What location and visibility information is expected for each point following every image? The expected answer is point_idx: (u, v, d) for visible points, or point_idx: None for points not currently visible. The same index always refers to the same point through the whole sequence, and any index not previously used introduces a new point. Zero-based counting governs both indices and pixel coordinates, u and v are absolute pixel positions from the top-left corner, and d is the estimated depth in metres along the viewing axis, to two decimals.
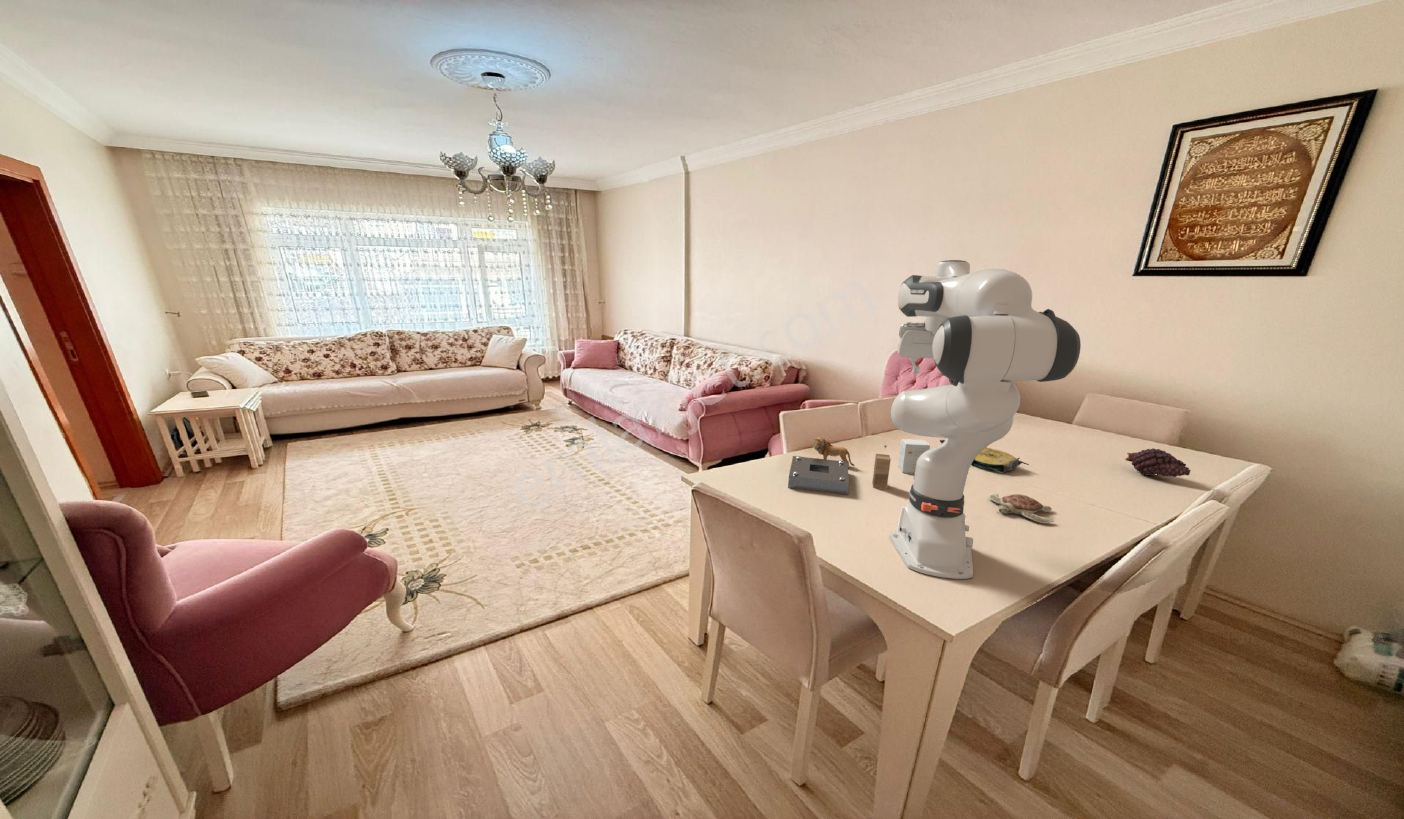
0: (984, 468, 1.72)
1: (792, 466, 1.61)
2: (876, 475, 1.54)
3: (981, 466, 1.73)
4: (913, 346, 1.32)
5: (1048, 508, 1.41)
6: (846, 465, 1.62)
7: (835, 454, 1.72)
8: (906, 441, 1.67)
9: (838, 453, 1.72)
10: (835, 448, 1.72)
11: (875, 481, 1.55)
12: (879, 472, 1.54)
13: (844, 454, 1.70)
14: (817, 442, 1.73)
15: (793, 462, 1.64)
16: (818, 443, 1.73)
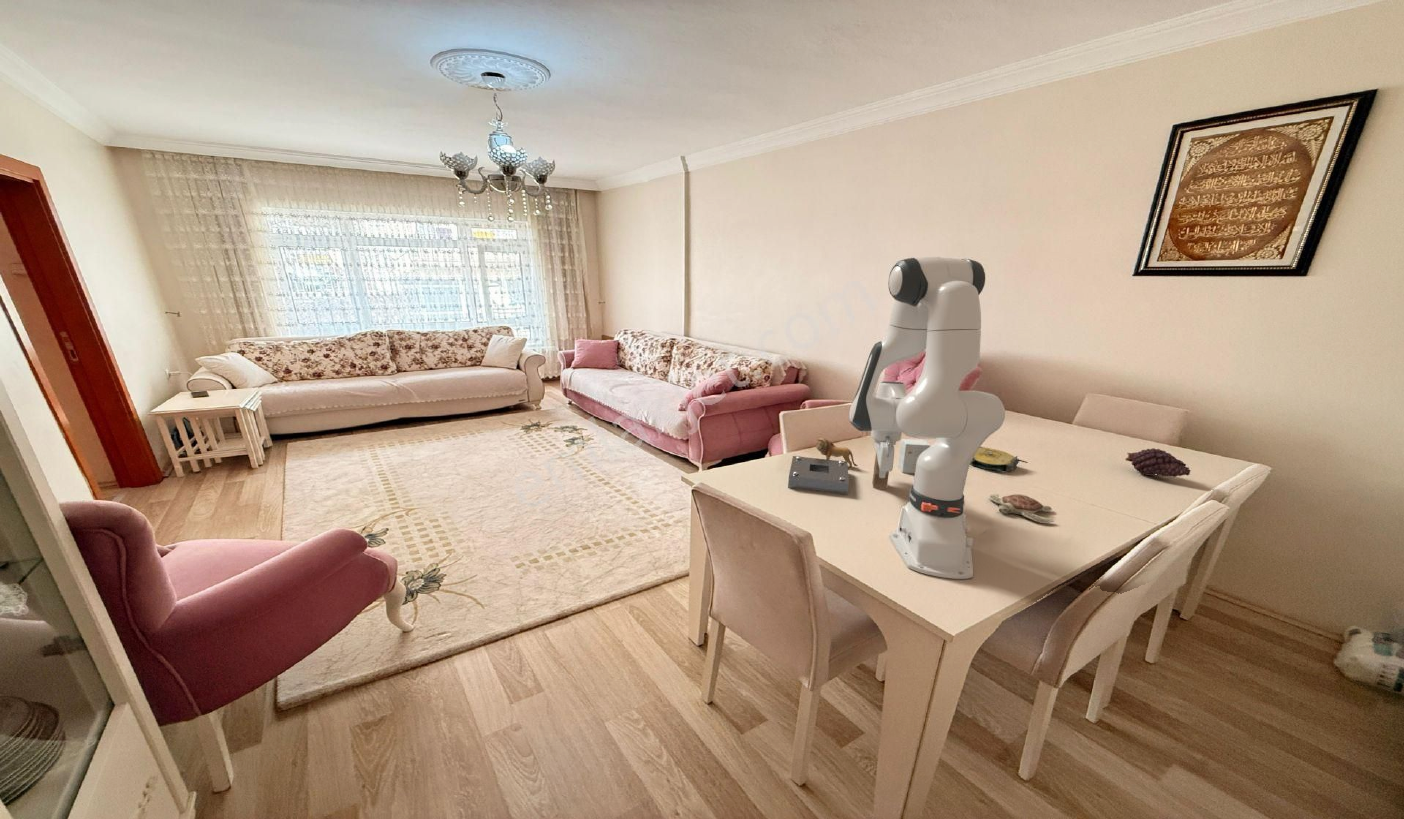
0: (987, 469, 1.71)
1: (792, 466, 1.61)
2: (876, 475, 1.54)
3: (983, 467, 1.72)
4: None
5: (1048, 508, 1.41)
6: (846, 465, 1.62)
7: (838, 455, 1.72)
8: (906, 441, 1.67)
9: (841, 454, 1.71)
10: (838, 449, 1.72)
11: (875, 481, 1.55)
12: None
13: (847, 455, 1.70)
14: (820, 443, 1.73)
15: (793, 462, 1.64)
16: (821, 444, 1.72)
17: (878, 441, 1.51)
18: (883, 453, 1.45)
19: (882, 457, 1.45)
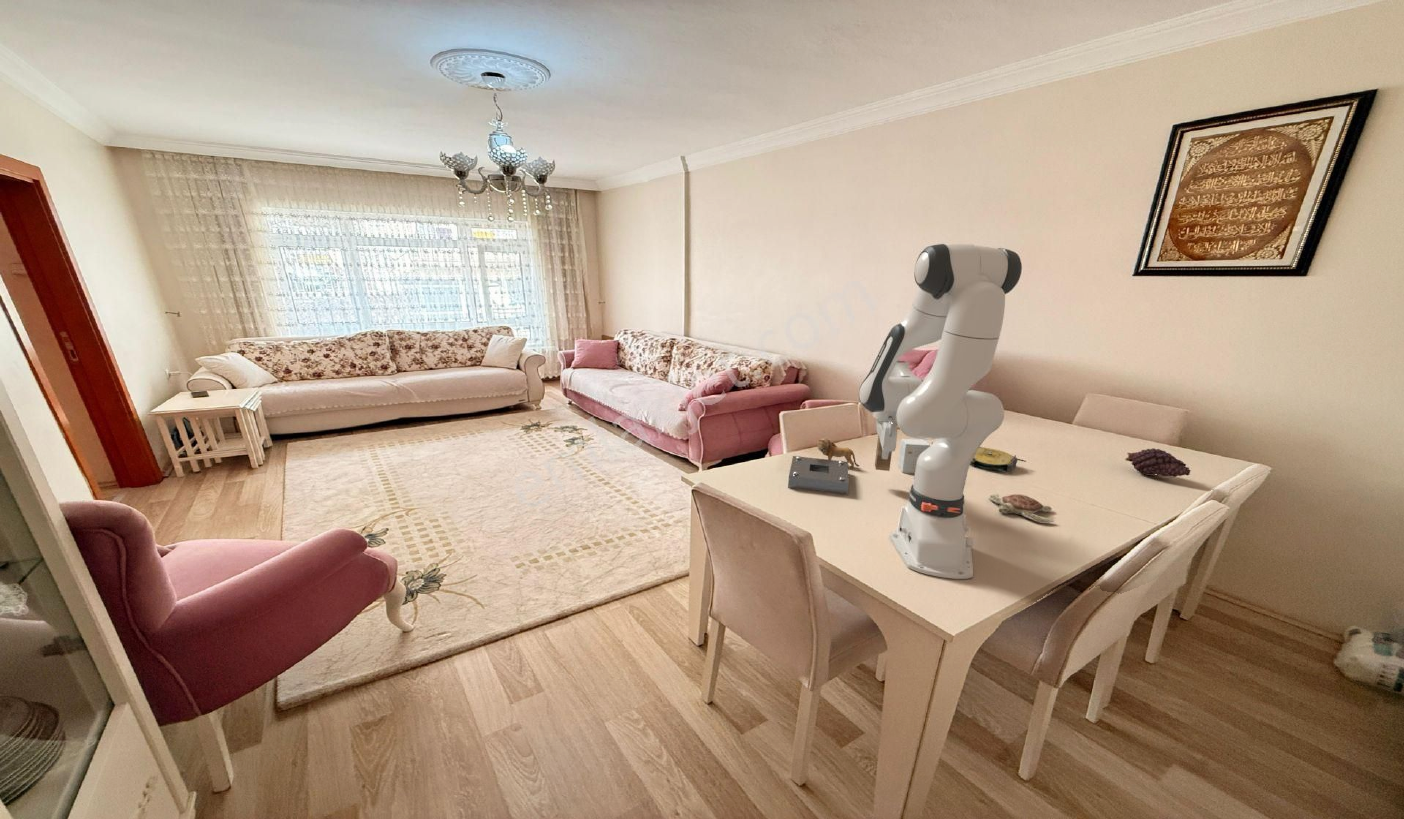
0: (988, 469, 1.71)
1: (792, 466, 1.61)
2: (879, 456, 1.52)
3: (985, 467, 1.72)
4: None
5: (1048, 508, 1.41)
6: (846, 465, 1.62)
7: (840, 455, 1.72)
8: (906, 441, 1.67)
9: (843, 454, 1.71)
10: (840, 449, 1.72)
11: (878, 463, 1.53)
12: (881, 454, 1.52)
13: (849, 455, 1.70)
14: (822, 443, 1.72)
15: (793, 462, 1.64)
16: (823, 444, 1.72)
17: (880, 421, 1.49)
18: (886, 433, 1.43)
19: (885, 437, 1.43)
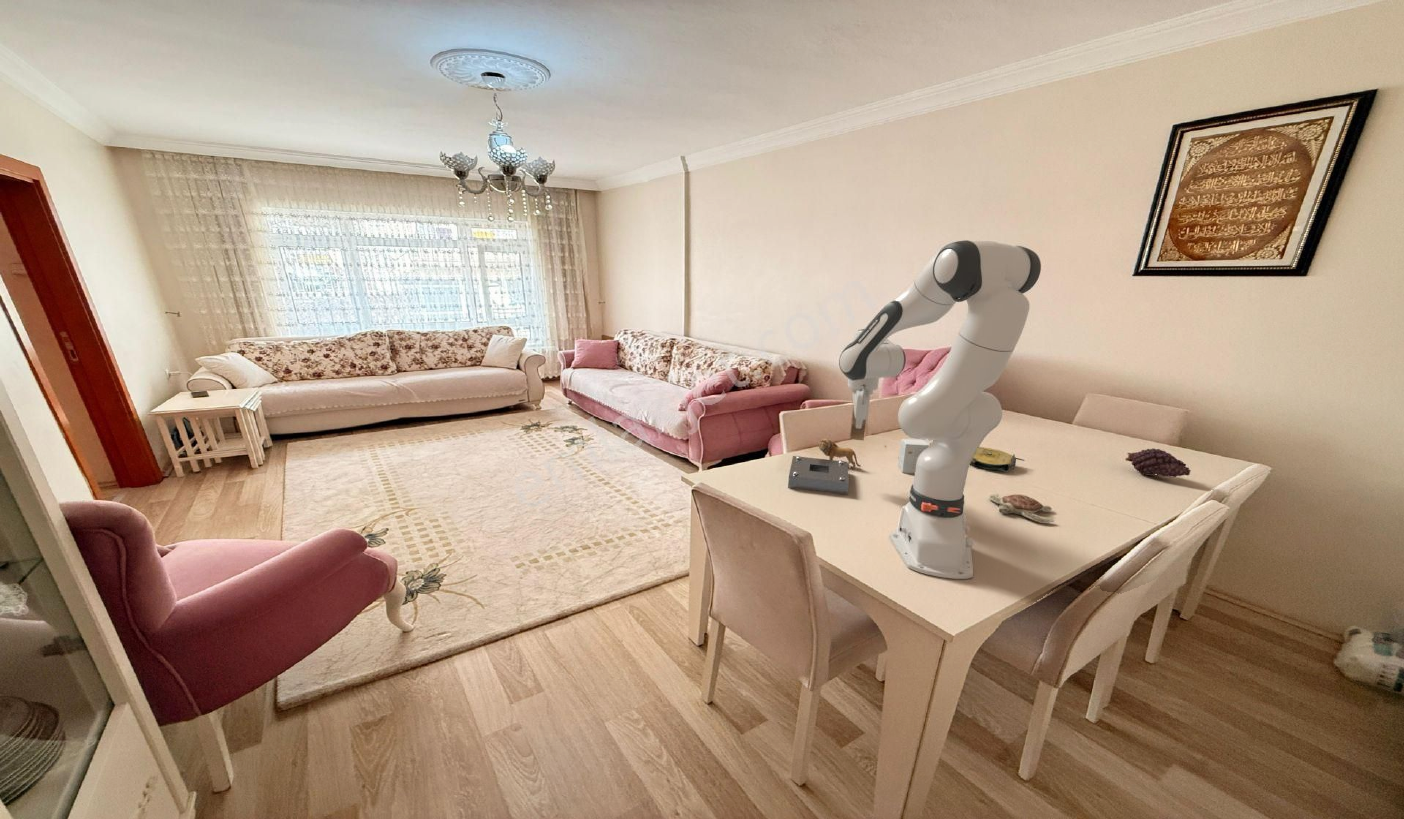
0: (989, 469, 1.71)
1: (792, 466, 1.61)
2: (853, 426, 1.52)
3: (986, 467, 1.71)
4: None
5: (1048, 508, 1.41)
6: (846, 465, 1.62)
7: (842, 455, 1.71)
8: (906, 441, 1.67)
9: (844, 454, 1.71)
10: (841, 449, 1.71)
11: (852, 432, 1.53)
12: (855, 423, 1.52)
13: (851, 455, 1.69)
14: (823, 443, 1.72)
15: (793, 462, 1.64)
16: (824, 444, 1.72)
17: (854, 390, 1.49)
18: (858, 400, 1.42)
19: (857, 404, 1.42)
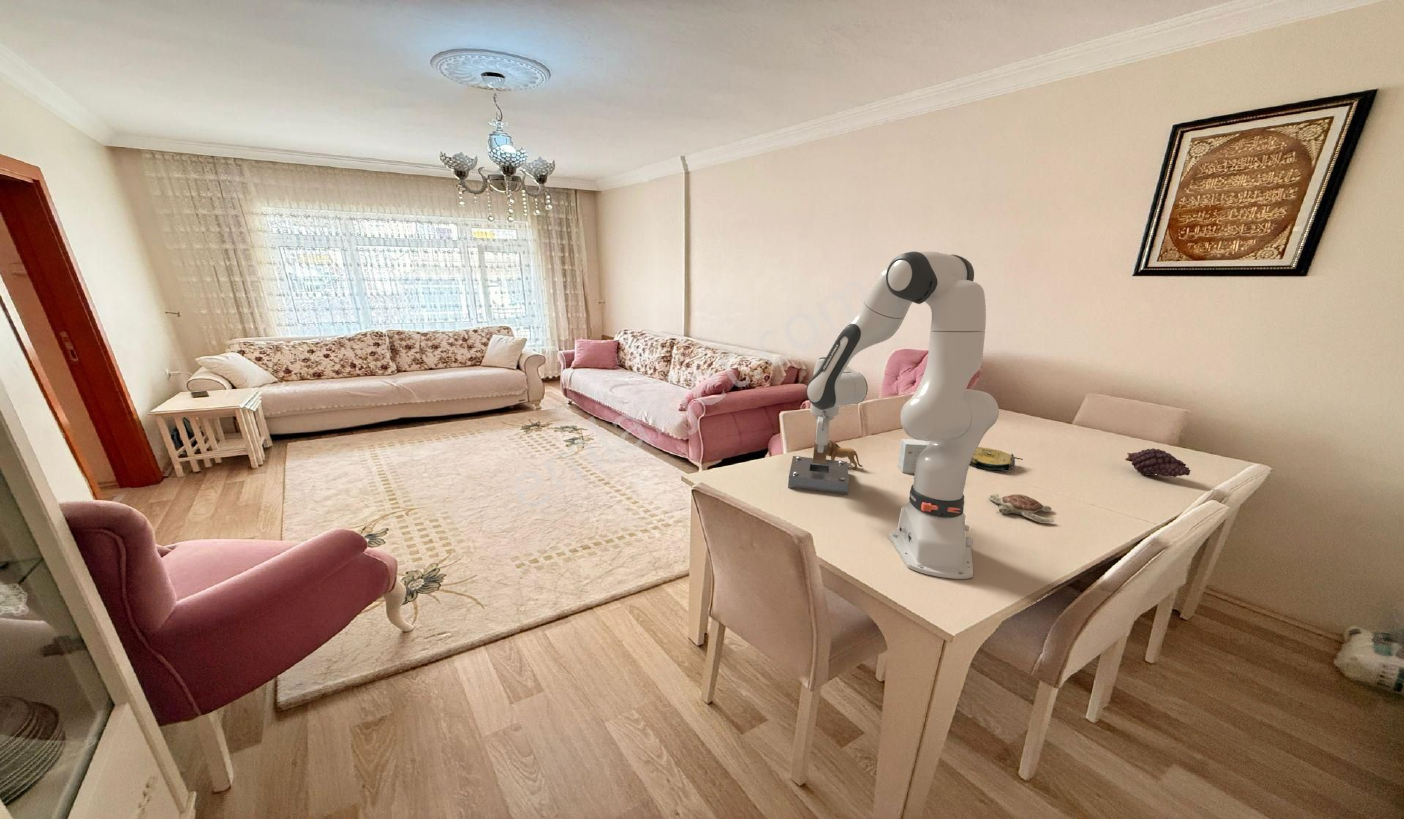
0: (991, 469, 1.71)
1: (792, 466, 1.61)
2: (815, 450, 1.56)
3: (987, 468, 1.71)
4: None
5: (1048, 508, 1.41)
6: (846, 465, 1.62)
7: (843, 456, 1.71)
8: (906, 441, 1.67)
9: (846, 454, 1.71)
10: (843, 449, 1.71)
11: (814, 456, 1.57)
12: (817, 447, 1.56)
13: (852, 455, 1.69)
14: None
15: (793, 462, 1.64)
16: None
17: (816, 416, 1.53)
18: (818, 427, 1.46)
19: (817, 431, 1.47)
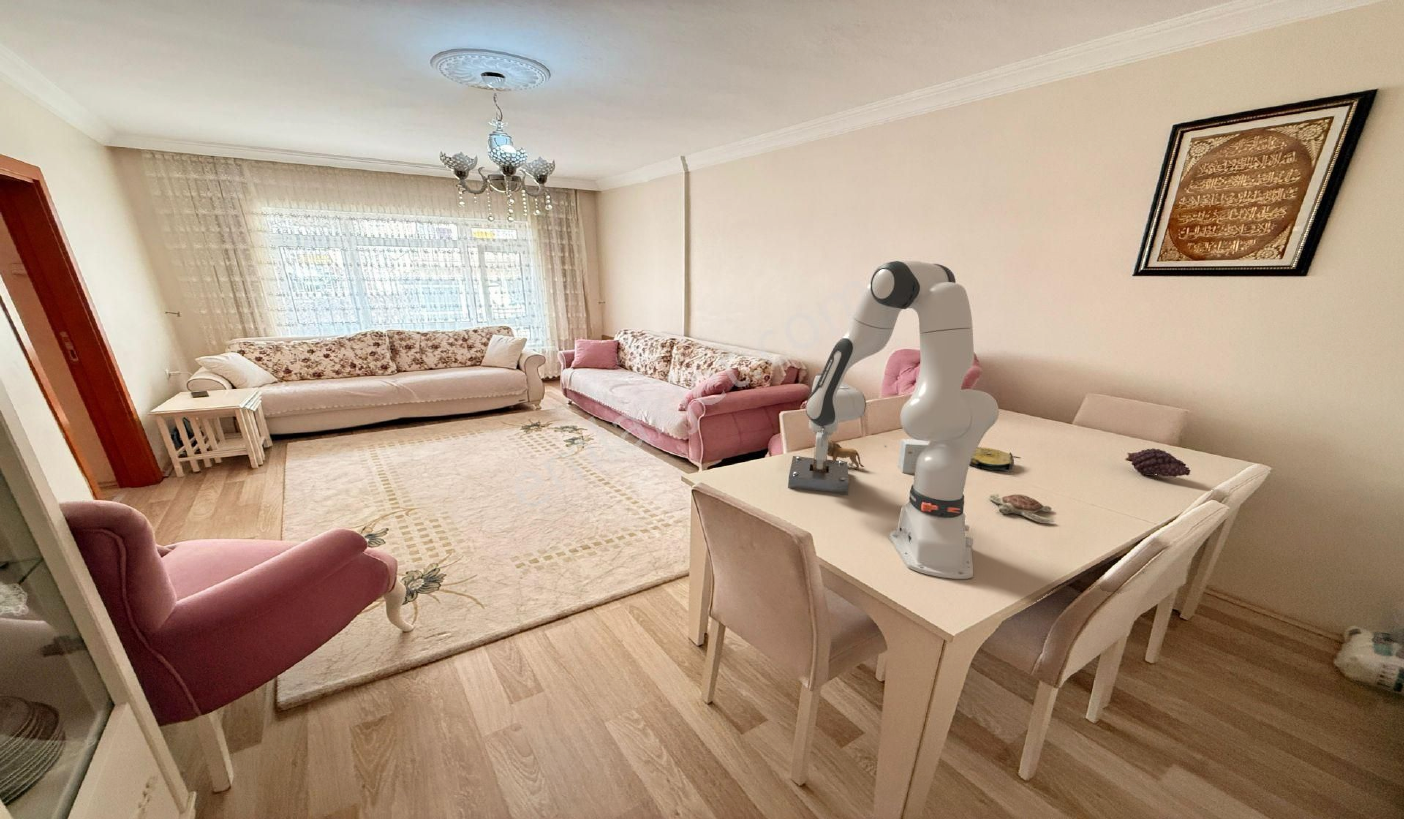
0: (992, 469, 1.71)
1: (792, 466, 1.61)
2: (814, 469, 1.58)
3: (989, 468, 1.71)
4: None
5: (1048, 508, 1.41)
6: (846, 465, 1.62)
7: (845, 456, 1.71)
8: (906, 441, 1.67)
9: (848, 455, 1.70)
10: (844, 450, 1.71)
11: None
12: (816, 466, 1.57)
13: (854, 456, 1.69)
14: None
15: (793, 462, 1.64)
16: None
17: (815, 431, 1.54)
18: (817, 443, 1.48)
19: (816, 447, 1.48)
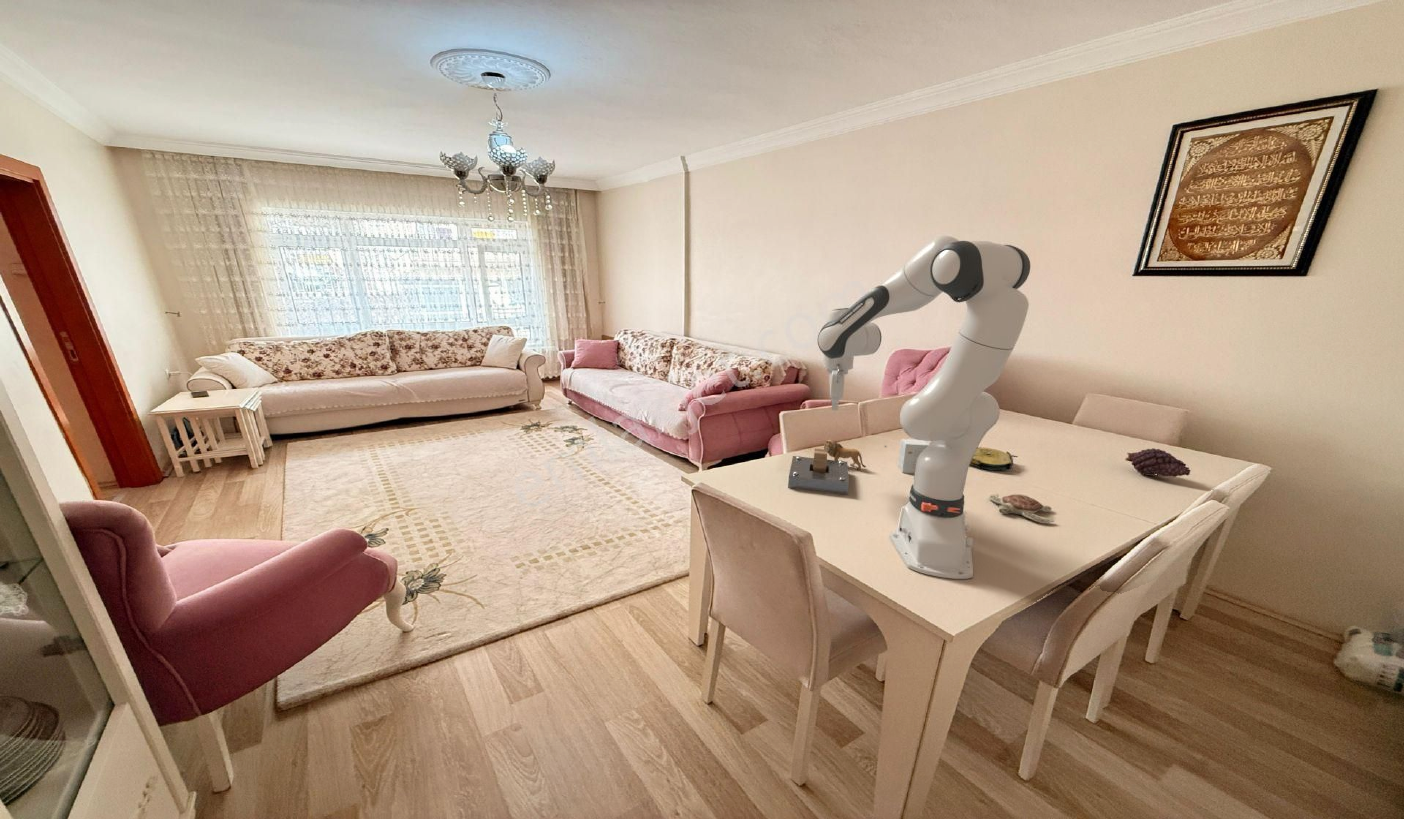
0: (994, 469, 1.71)
1: (792, 466, 1.61)
2: (814, 469, 1.58)
3: (990, 468, 1.71)
4: None
5: (1048, 508, 1.41)
6: (846, 465, 1.62)
7: (847, 456, 1.71)
8: (906, 441, 1.67)
9: (850, 455, 1.70)
10: (846, 450, 1.71)
11: None
12: (816, 467, 1.57)
13: (856, 456, 1.69)
14: (828, 444, 1.71)
15: (793, 462, 1.64)
16: (829, 445, 1.71)
17: (830, 371, 1.49)
18: (833, 379, 1.43)
19: (832, 383, 1.43)
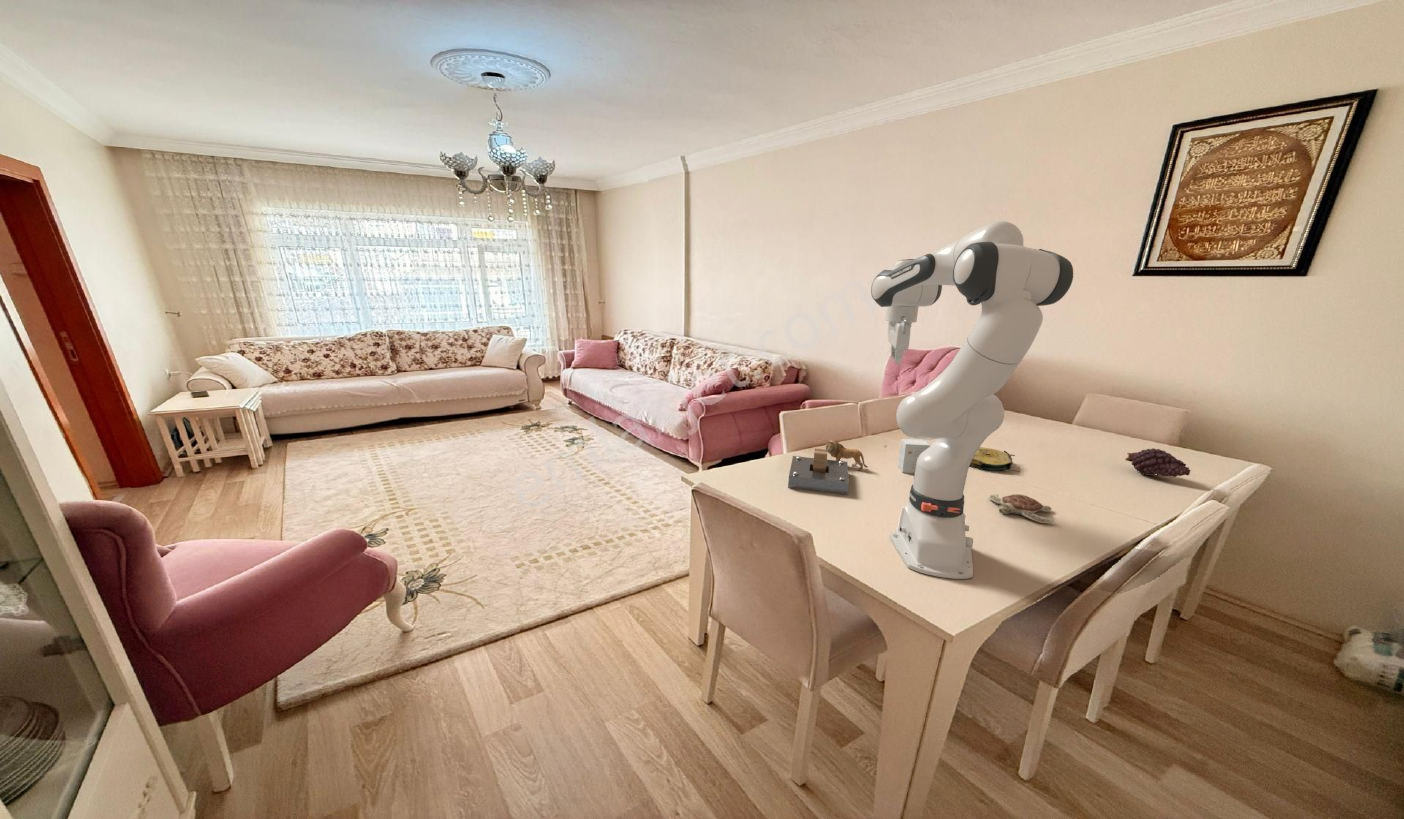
0: (995, 470, 1.71)
1: (792, 466, 1.61)
2: (814, 469, 1.58)
3: (992, 468, 1.71)
4: None
5: (1048, 508, 1.41)
6: (846, 465, 1.62)
7: (849, 457, 1.70)
8: (906, 441, 1.67)
9: (851, 455, 1.70)
10: (848, 450, 1.70)
11: None
12: (816, 467, 1.57)
13: (858, 456, 1.69)
14: (830, 445, 1.71)
15: (793, 462, 1.64)
16: (831, 446, 1.70)
17: (893, 324, 1.48)
18: (899, 330, 1.41)
19: (898, 335, 1.42)
